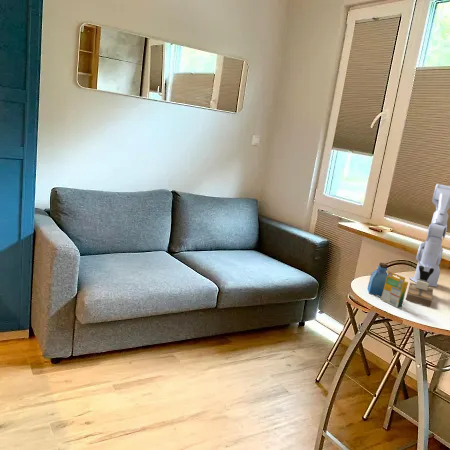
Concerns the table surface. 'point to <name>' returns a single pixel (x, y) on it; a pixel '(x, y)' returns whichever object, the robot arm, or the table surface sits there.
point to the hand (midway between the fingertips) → (422, 284)
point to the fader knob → (422, 284)
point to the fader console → (419, 295)
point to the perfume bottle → (378, 280)
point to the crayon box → (394, 290)
